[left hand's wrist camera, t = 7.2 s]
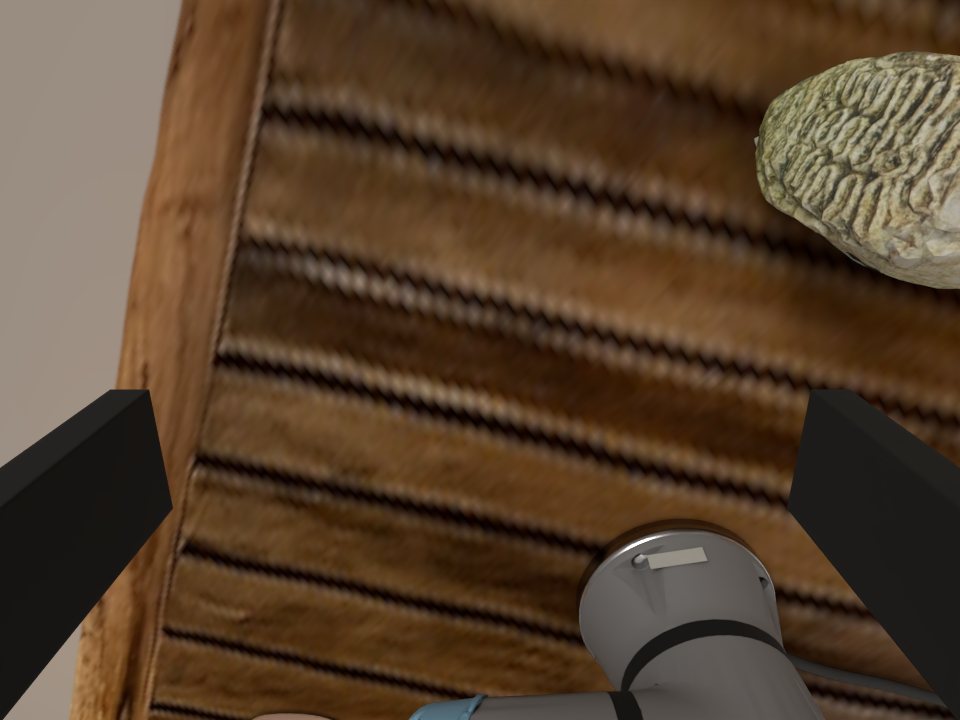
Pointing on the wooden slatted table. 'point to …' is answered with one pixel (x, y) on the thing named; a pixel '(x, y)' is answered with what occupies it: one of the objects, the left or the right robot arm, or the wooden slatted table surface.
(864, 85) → the fossil
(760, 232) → the wooden slatted table surface
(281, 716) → the anatomical model
